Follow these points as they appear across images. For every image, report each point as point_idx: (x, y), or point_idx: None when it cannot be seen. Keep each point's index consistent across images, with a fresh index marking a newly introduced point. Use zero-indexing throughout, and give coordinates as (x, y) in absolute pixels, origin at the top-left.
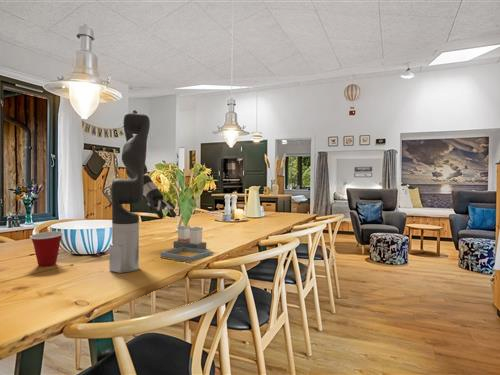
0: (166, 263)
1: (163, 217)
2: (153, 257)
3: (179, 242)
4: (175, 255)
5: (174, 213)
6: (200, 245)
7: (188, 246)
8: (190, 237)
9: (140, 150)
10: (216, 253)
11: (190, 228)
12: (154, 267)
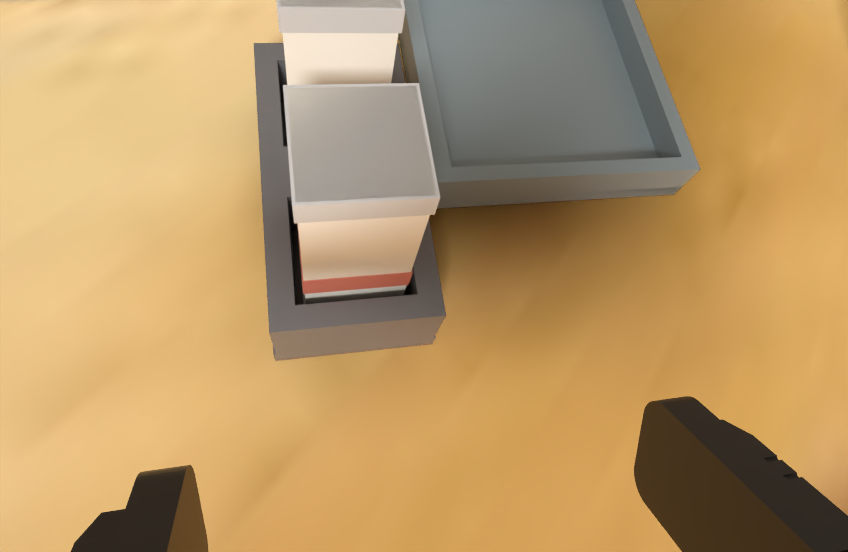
0: (702, 78)
1: (642, 422)
2: (704, 252)
3: (430, 234)
4: (650, 50)
5: (178, 508)
6: None
7: None
8: None
9: None
10: None
11: (402, 3)
12: (791, 71)
